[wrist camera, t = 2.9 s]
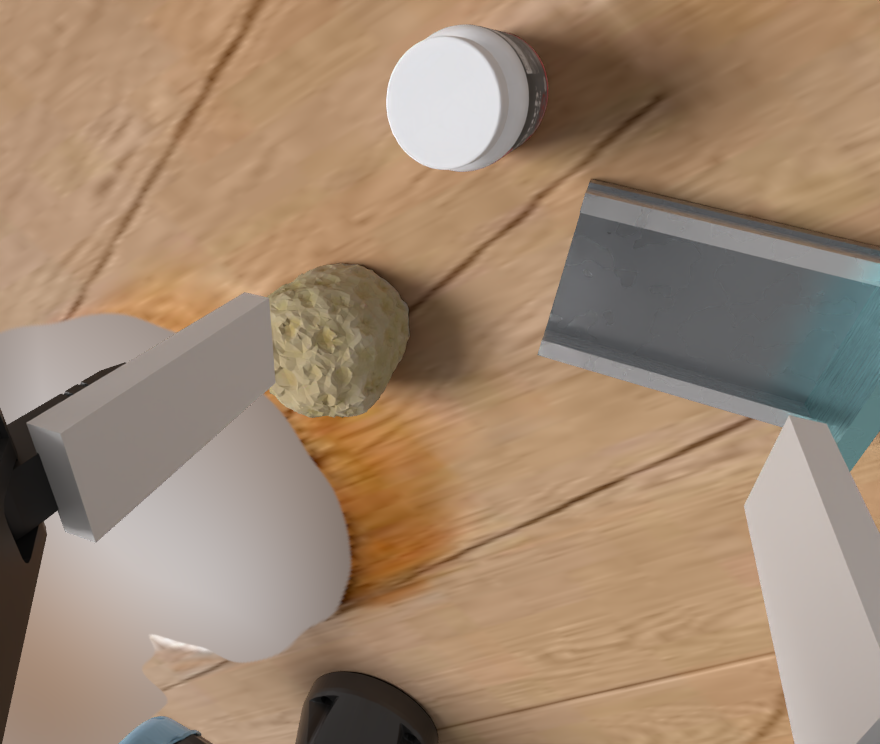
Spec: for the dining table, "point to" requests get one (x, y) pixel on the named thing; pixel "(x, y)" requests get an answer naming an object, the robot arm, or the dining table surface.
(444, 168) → the pill bottle
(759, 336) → the grey tray holder
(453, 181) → the dining table surface
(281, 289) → the decorative object
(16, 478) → the robot arm
